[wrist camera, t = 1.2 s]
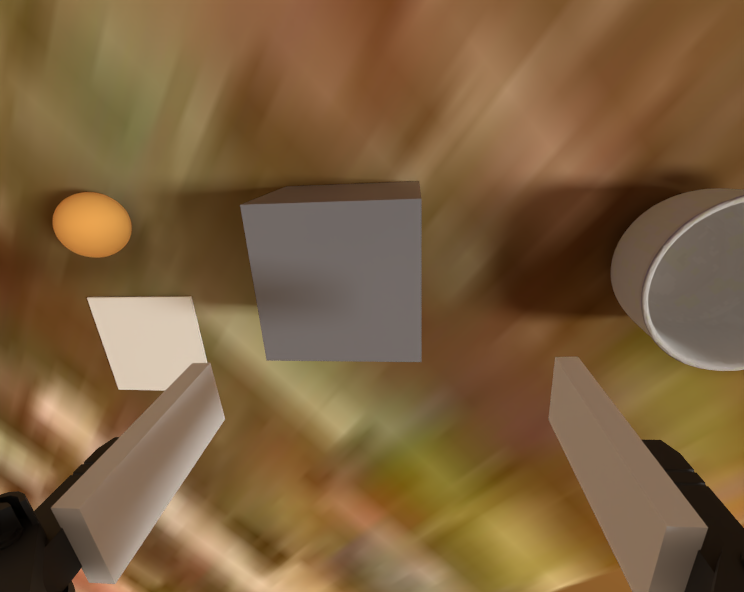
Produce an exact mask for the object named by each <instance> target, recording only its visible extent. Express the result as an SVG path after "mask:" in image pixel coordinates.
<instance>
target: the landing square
mask: <svg viewBox="0 0 744 592" xmlns="http://www.w3.org/2000/svg"><path fill="white" fill-rule="evenodd" d="M87 300H88V303H89V305H90V308H91V311H92V314H93V317H94V320H95V323H96V326H97V329H98V331H99V334H100V337H101V340H102V343H103V346H104V349H105V352H106V354H107V357H108V360H109V363H110V366H111V369H112V372H113V375H114V378H115V380H116V383H117V386H118V389H119V390H166V389H167V388H168V387H169V386H170V385H171V384H172V383H173V382H174V381H175V380H176V379H177V378H178V377H179V376H180V375H181V374H182V373H183V372H184V371H185V370H186V369H187V368H188V367H189V366H190V365H191V364H192V363H207V359H206V355H205V351H204V346H203V342H202V338H201V334H200V330H199V325H198V321H197V317H196V313H195V309H194V304H193V300H192V296H145V297H87Z"/></svg>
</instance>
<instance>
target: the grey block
mask: <svg viewBox="0 0 744 592" xmlns="http://www.w3.org/2000/svg"><path fill="white" fill-rule="evenodd" d="M240 208H241V213H242V219H243V225H244V231H245V237H246V243H247V248H248V254H249V260H250V266H251V272H252V278H253V283H254V289H255V295H256V301H257V307H258V312H259V318H260V324H261V330H262V336H263V342H264V347H265V353H266V359H267V360H282V361H376V362H421V192H420V185H419V181H412V182H387V183H361V184H335V185H309V186H286V187H284V188H281V189H279V190H276V191H274V192H271V193H268V194H266V195H263V196H261V197H258V198H256V199H253V200H251V201H248V202H246V203H243V204H241V205H240Z"/></svg>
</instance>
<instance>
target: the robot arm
mask: <svg viewBox="0 0 744 592" xmlns="http://www.w3.org/2000/svg"><path fill="white" fill-rule="evenodd" d="M224 420H225V417H224V413H223V410H222V406H221V402H220V398H219V394H218V391H217V387H216V383H215V379H214V375H213V371H212V368H211V364H210V363H192V364H191V365H190V366H189V367H188V368H187V369H186V370H185V371H184V372H183V373H182V374H181V375H180V376H179V377H178V378H177V379H176V380H175V381H174V382H173V383H172V384H171V385H170V386H169V387H168V388H167V389H166V390H165V391H164V392H163V393H162V394H161V395H160V397H159V398H158V399H157V400H156V401H155V402H154V403H153V404H152V405H151V406H150V407H149V408H148V409H147V410H146V411H145V412H144V413H143V414H142V415H141V416H140V417H139V418H138V419H137V420H136V421H135V422H134V423H133V424H132V425H131V426H130V427H129V428H128V429H127V430H126V431H125V432H124V433H123V434H122V435H121V436H120V437H115V438H113V439H111V440H110V441H108V442H107V443H105V444H104V445H102V446H101V447H99V448H98V449H97V450H96V451H95V452H94V453H93V454H92V455H91V456H90V457H89V458H88V459H87V460H86V461H85V462H84V464H81V465H80V466H79V467H78V468H77V469H76V470H75V471H74V472H73V475H70V476H69V477H68V478H67V479H66V480H65V481H64V482H63V483H62V484H61V485H60V486H59V487H58V488H57V489H56V490H55V491H54V492H53V493H52V494H51V495H50V496H49V497H48V498H47V499H46V500H45V501H44V502H43V503H42V504H41V505H40V506H39V507H38V508H37V509H36V510H35V511H33V509H32V507H31V505H30V503H29V501H28V499H27V498H26V496H25V494H23V493H21V492H19V491H18V492H8V493H4V494H1V495H0V592H75V588H74V585H73V583H72V579H73V578H74V577H75V575H76V574H77V573H78V571H79V570H80V569H81V568H82V570H83V572H84V574H85V576H86V577H87V579H88V581H89V583H107V584H116V582H117V581H118V579H119V578H120V576H121V575H122V573H123V572H124V570H125V569H126V567H127V566H128V564H129V563H130V561H131V560H132V558H133V557H134V555H135V554H136V552H137V551H138V549H139V548H140V546H141V544H142V543H143V541H144V540H145V538H146V537H147V535H148V534H149V532H150V531H151V529H152V528H153V526H154V525H155V523H156V522H157V520H158V519H159V517H160V516H161V514H162V513H163V511H164V510H165V508H166V507H167V505H168V504H169V502H170V501H171V499H172V498H173V496H174V495H175V493H176V492H177V490H178V489H179V487H180V486H181V484H182V483H183V481H184V480H185V478H186V477H187V475H188V474H189V472H190V471H191V469H192V468H193V466H194V465H195V463H196V462H197V460H198V459H199V457H200V456H201V454H202V453H203V451H204V450H205V448H206V447H207V445H208V444H209V442H210V441H211V439H212V438H213V436H214V435H215V433H216V432H217V430H218V429H219V427H220V426H221V424H222V423H223V421H224ZM549 421H550V423H551V426H552V428H553V430H554V432H555V434H556V436H557V438H558V440H559V442H560V444H561V446H562V448H563V450H564V452H565V454H566V456H567V458H568V460H569V462H570V465H571V467H572V469H573V471H574V473H575V475H576V477H577V479H578V481H579V483H580V485H581V487H582V489H583V491H584V493H585V495H586V497H587V499H588V501H589V504H590V506H591V508H592V510H593V512H594V514H595V516H596V518H597V520H598V522H599V524H600V526H601V528H602V530H603V532H604V534H605V536H606V538H607V540H608V543H609V545H610V547H611V549H612V551H613V553H614V555H615V557H616V559H617V561H618V563H619V565H620V567H621V569H622V571H623V573H624V575H625V577H626V579H627V581H628V583H629V585H630V588H631V589H632V592H744V528H743V527H742V526H741V524H740V523H739V522H738V521H737V520H736V519H735V517H734V516H733V515H732V514H731V513H730V511H729V510H728V509H727V508H726V507H725V506H724V504H723V503H722V502H721V501H720V500H719V499H718V497H717V496H716V495H715V494H714V493H713V492H712V490H711V489H710V488H709V487H708V486H706V485H705V482H704V481H703V480H702V479H701V477H700V476H699V475H698V474H697V473H695V472H694V469H693V468H692V467H691V466H690V465H689V463H688V462H687V461H686V460H685V459H684V458H683V456H682V455H681V454H680V453H679V452H677V451H676V450H674V449H673V448H671V447H670V446H669V445H667V444H666V443H664V442H663V441H661V440H641V439H640V438H639V436H638V435H637V434H636V432H635V431H634V430H633V428H632V427H631V426H630V425H629V423H628V422H627V421H626V419H625V418H624V417H623V415H622V414H621V413H620V411H619V410H618V409H617V407H616V406H615V405H614V404H613V402H612V401H611V400H610V398H609V397H608V396H607V394H606V393H605V392H604V390H603V389H602V388H601V386H600V385H599V384H598V383H597V381H596V380H595V379H594V377H593V376H592V375H591V373H590V372H589V371H588V369H587V368H586V367H585V365H584V364H583V363H582V362H581V360H580V359H579V358H578V357H555V365H554V374H553V383H552V392H551V401H550V410H549Z"/></svg>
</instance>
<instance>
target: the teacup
mask: <svg viewBox="0 0 744 592" xmlns="http://www.w3.org/2000/svg"><path fill="white" fill-rule="evenodd" d="M611 283H612V287H613V291H614V294H615V296H616V298H617V300H618V302H619V304H620V305H621V307H622V308H623V310H624V311H625V312H626V313H627V314H628V316H629V317H630V318H631V319H632V320H633V321H634V322H635V323H636V324H637V325H638V326H639V327H640V328H642V329H643V330H644V331H645V332H646V333H647V334H648V335H649V336H651V337H652V339H653V340H654V342H655V343H656V344H657V345H658V346H659V347H660V348H661V349H662V350H663V351H665V352H666V353H667V354H668V355H670V356H671V357H673V358H675V359H676V360H678V361H680V362H682V363H685V364H688V365H691V366H694V367H698V368H701V369H708V370H717V371H737V370H744V190H740V189H722V188H717V189H702V190H696V191H690V192H686V193H682V194H679V195H676V196H673V197H671V198H668V199H666V200H664V201H662V202H660V203H658V204H656V205H654V206H653V207H651V208H650V209H648V210H647V211H646V212H644V213H643V214H642V215H640V216H639V217H638V218H637V219H636V220H635V221H634V222H633V223H632V224H631V225H630V226H629V228H628V229H627V230H626V231H625V233H624V234H623V236H622V237H621V239H620V240H619V242H618V244H617V247H616V249H615V252H614V255H613V258H612V263H611Z"/></svg>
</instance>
